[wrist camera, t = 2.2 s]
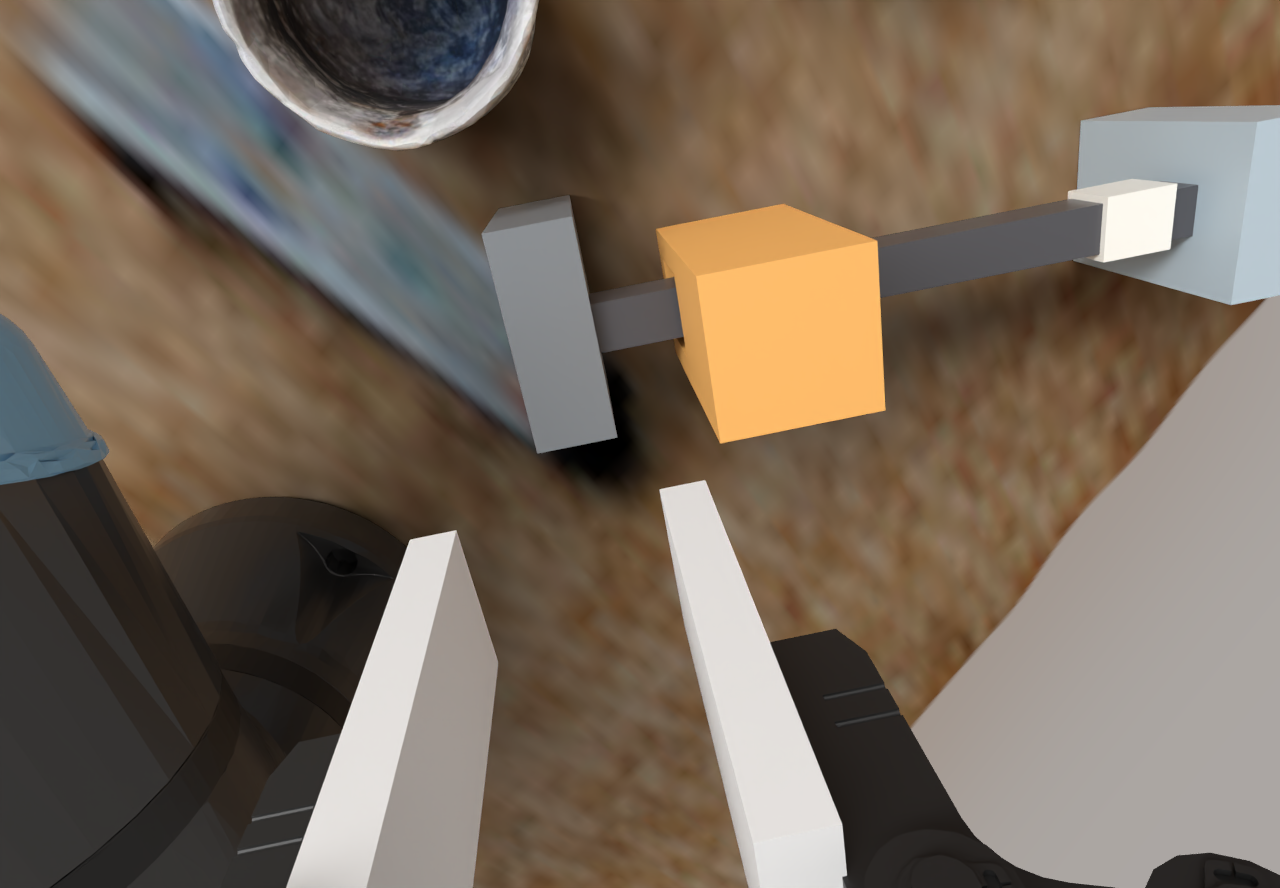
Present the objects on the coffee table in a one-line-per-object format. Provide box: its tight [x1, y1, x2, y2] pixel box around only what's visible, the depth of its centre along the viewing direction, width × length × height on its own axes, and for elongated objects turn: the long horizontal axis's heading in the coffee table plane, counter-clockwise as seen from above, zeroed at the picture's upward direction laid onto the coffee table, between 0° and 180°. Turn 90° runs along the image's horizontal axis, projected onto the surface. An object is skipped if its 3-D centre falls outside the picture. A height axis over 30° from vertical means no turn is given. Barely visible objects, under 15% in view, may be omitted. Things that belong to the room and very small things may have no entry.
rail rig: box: [482, 105, 1280, 454], centre depth 29 cm, size 29×8×9 cm, turn 100°
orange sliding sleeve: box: [656, 204, 885, 443], centre depth 26 cm, size 5×5×10 cm
